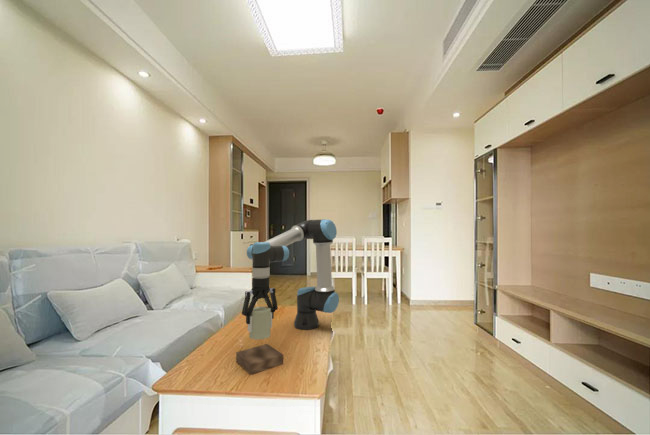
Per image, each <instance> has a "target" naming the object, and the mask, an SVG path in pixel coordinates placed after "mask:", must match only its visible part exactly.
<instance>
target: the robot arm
mask: <svg viewBox="0 0 650 435" xmlns="http://www.w3.org/2000/svg"><path fill="white" fill-rule="evenodd" d="M337 232H338V231H337V227H336V224H335V223H334V221H332V220H331V219H323V218H322V219H307V220H305V221H302V222H300V223H297V224H295V225H292V226H291V229H288V230H286V231H285V232H282V233H281V234H278V235H276V236H273V237H272V238H270V239H267V240H266V241H265V240H264V241H257V242H254V243H253V244H251V245H249V246H248V247H247V249H246V257H247V258H248V260H252V267H251V268H252V270H251V271H252V272H251V273H252V274H251V276H252V278H251V284H252V285H251V286H252V287H251V290H249V291H247V290H246V291H245V292H244V295H245V297H244V300H243V301H244V302H243V305H242V310H241V315H243V317H244V316H245V324H247V332H248V333H250V332H252V316H251V313H252V311H253V309H254V307H256V304H257V302H258V301H259V300H262V299H264V301H265V304H266V307H269V308H271V315H270V329H271V328H273V319H274V318H275V316H274V315H275V312H276V311H278V309H279V307H278V303H277V297H276V290H277V289H276V288H275V287H270V274H271V273H270V272H271V270H270V269H271V265H270V264H271V263H276V262H277V263H279V262H284V261H288V259H289V256H290V250H289V248H288V246H289V245H292V244H293V243H296V242H300V241H302V240H312V243H313V245H315V258H316V260H315V261H316V283H317V284H316V286H305V287H304V286H303V287H301V288H298V289H297V293H296V300H297V301H296V307H297V308H296V315H295V318H294V322H293V327H294V328H295V329H299V330H305V331H306V330H313V329H316V328H319V327H320V326H319V325H320V324H319V323H320V321H319V318H318V315H317V312H322V313H326V314H327V313H328V314H333V313H334V312H335V311H336V309H337V308H338V307H339V306H338V305H339V302H340V296H339V295H340V294H338V292H336V291H335V287H334V286H333V284H332V283H333V281H332V277H333V276H332V256H331V255H332V254H331V253H332V252H331V251H332V250H331V245H332V244H333V242H334V241H333V240H335V238H336V237H337ZM269 293H270V297H269ZM251 296H252V298H251ZM270 298H271V300H270ZM250 300H251V302H250Z"/></svg>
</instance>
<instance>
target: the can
mask: <svg viewBox="0 0 650 435" xmlns="http://www.w3.org/2000/svg"><path fill="white" fill-rule="evenodd" d="M270 315H271V308H269V307H268V306H265V305H264V306H254V309H253V311H252V313H251V316H252V332H248V338H249V339H252V340H257V341H258V340H265V339H268V338H270V337H271V328H270Z"/></svg>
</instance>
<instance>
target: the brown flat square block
mask: <svg viewBox="0 0 650 435" xmlns="http://www.w3.org/2000/svg"><path fill="white" fill-rule="evenodd" d="M235 362H236V363H237V364H238V365H239V366H240V367H241V368H243V369H244V370H245V371H246V373H248V374H249V375H250V376H251V375H255V374H258V373H261V372H264V371H266V370H269V369H272V368H275V367H279V366H282V365H284V354H283V353H282V352H281V351H279V350H278V349H276V348H275V347H272V346H271V344H268V343H265V344H262V345H257V346H254V347H251V348H247V349H243V350H239V351H236V352H235Z"/></svg>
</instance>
